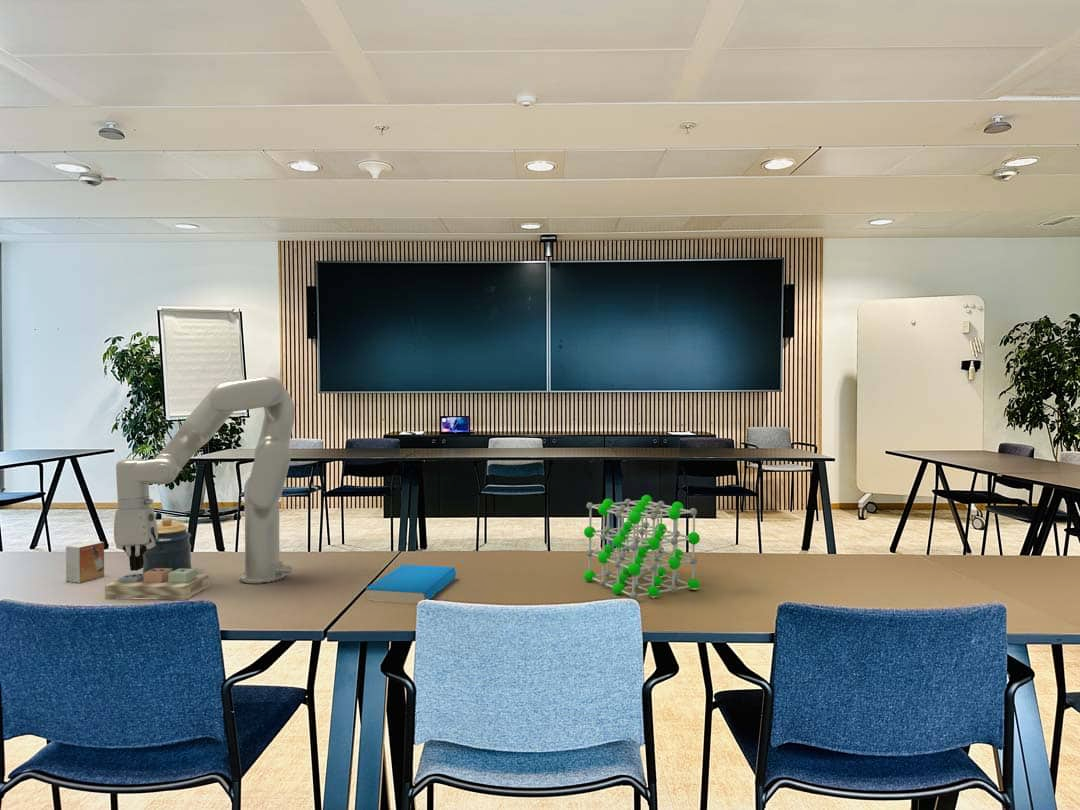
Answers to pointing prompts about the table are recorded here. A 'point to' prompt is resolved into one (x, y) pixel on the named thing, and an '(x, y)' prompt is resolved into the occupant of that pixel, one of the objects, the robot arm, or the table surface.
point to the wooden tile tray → (156, 589)
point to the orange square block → (157, 575)
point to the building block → (132, 578)
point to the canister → (169, 548)
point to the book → (411, 583)
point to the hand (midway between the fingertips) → (136, 569)
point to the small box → (84, 561)
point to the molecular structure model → (640, 546)
